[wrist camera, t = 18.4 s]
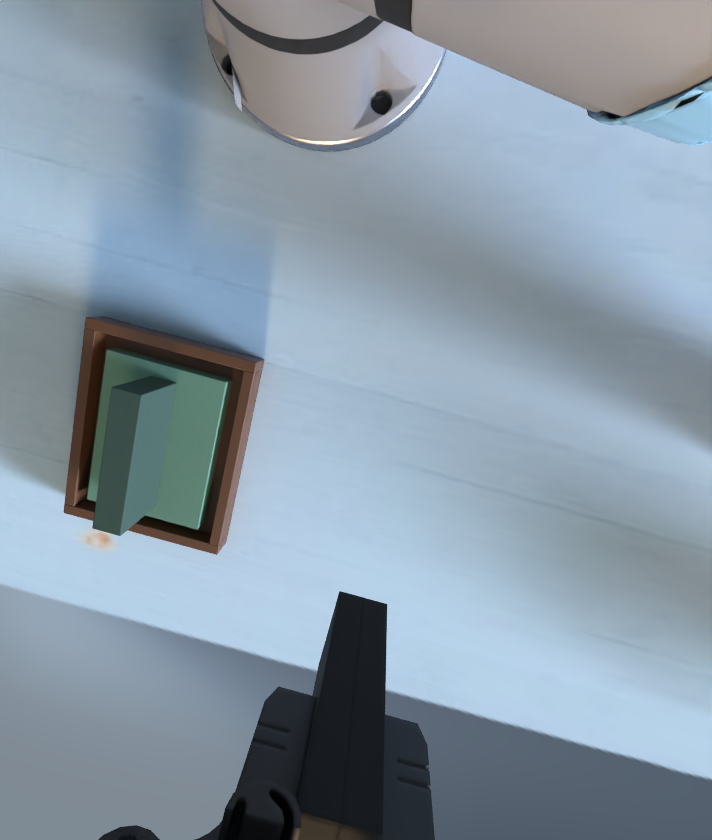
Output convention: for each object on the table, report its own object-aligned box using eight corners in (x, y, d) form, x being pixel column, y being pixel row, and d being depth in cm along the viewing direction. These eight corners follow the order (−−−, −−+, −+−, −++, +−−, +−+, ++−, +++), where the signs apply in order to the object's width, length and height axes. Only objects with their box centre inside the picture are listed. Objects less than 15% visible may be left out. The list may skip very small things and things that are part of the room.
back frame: (103, 316, 36) (85, 316, 34) (264, 359, 36) (256, 362, 34) (80, 502, 40) (63, 512, 38) (226, 542, 39) (217, 555, 37)
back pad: (118, 347, 36) (58, 355, 29) (233, 379, 36) (199, 394, 29) (98, 492, 39) (40, 528, 32) (205, 521, 38) (168, 563, 32)
